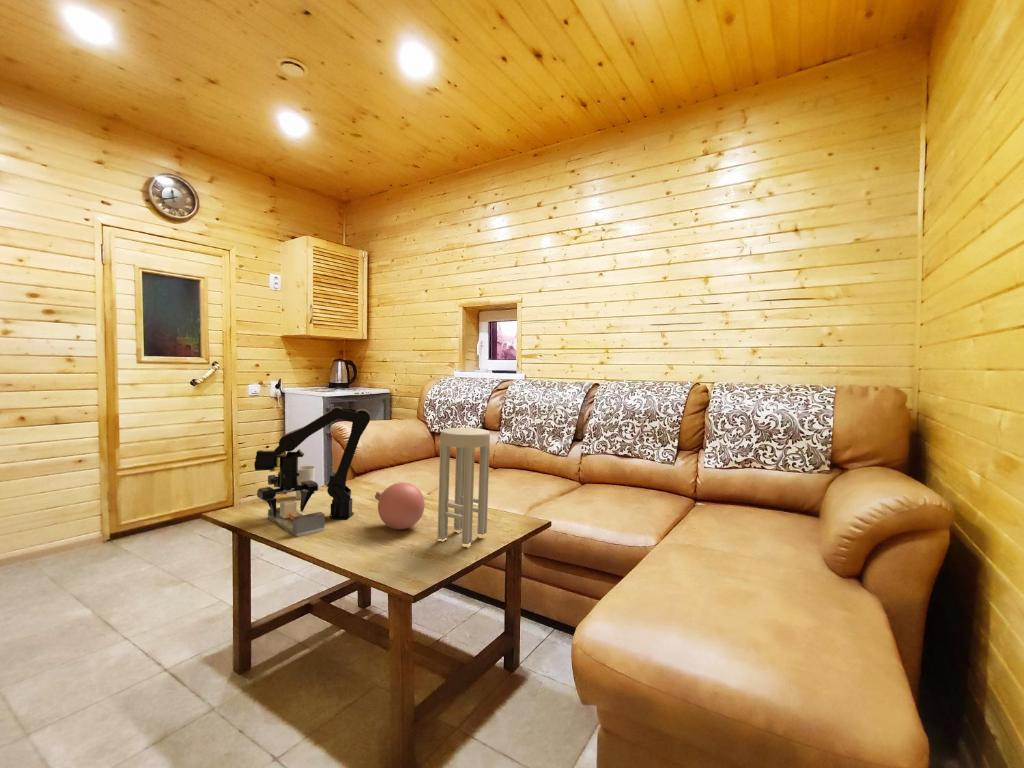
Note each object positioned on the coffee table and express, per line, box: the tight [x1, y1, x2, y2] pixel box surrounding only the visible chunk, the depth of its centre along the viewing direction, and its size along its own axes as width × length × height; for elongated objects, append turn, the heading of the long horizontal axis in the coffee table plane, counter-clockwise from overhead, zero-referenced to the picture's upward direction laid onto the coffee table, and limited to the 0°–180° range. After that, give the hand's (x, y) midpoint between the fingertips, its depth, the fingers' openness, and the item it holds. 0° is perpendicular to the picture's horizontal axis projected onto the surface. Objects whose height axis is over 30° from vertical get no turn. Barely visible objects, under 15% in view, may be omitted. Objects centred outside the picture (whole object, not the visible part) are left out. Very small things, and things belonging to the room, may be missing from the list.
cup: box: [295, 465, 316, 501], centre depth 192 cm, size 8×8×12 cm
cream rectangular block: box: [279, 499, 298, 520], centre depth 164 cm, size 9×4×5 cm, turn 47°
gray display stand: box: [267, 506, 325, 538], centre depth 161 cm, size 24×9×6 cm, turn 47°
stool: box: [437, 427, 491, 544], centre depth 152 cm, size 16×16×35 cm
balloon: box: [374, 481, 426, 530], centre depth 162 cm, size 15×20×15 cm
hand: (288, 514), depth 166 cm, fingers open, 9 cm apart
